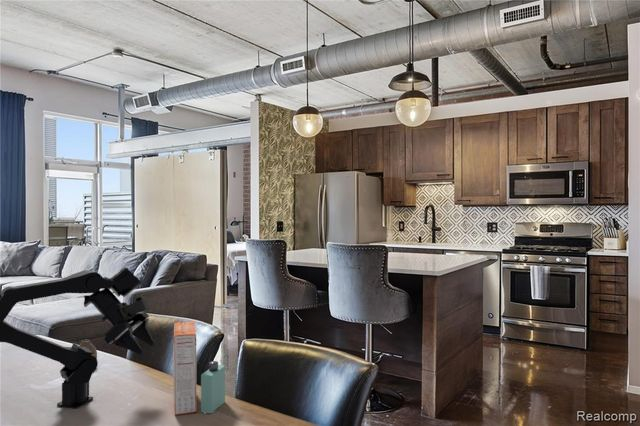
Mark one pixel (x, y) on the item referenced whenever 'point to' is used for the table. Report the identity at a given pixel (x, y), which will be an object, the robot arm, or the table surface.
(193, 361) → the cracker box
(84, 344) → the vase
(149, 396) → the table surface
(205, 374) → the teal flask bottle
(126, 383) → the table surface
